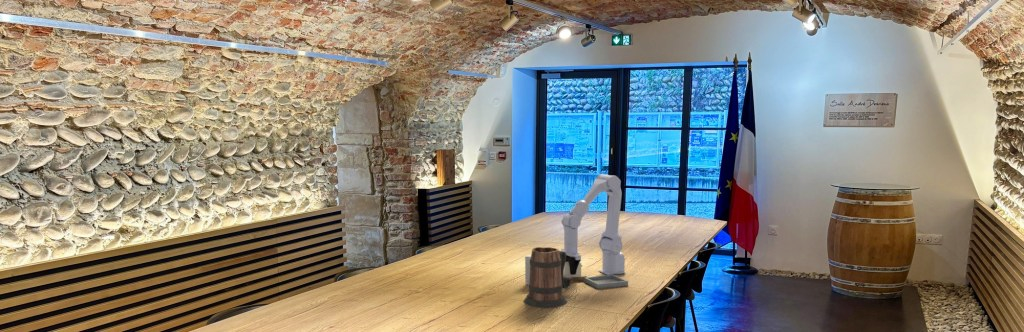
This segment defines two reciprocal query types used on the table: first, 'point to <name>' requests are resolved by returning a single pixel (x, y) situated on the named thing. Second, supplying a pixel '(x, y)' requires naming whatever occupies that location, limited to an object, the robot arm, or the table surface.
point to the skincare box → (527, 269)
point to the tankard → (547, 278)
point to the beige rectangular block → (567, 271)
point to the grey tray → (606, 281)
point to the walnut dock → (577, 279)
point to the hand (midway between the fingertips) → (570, 273)
